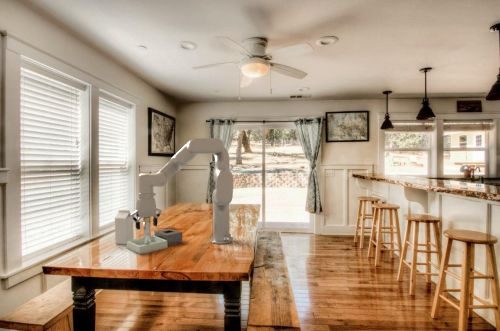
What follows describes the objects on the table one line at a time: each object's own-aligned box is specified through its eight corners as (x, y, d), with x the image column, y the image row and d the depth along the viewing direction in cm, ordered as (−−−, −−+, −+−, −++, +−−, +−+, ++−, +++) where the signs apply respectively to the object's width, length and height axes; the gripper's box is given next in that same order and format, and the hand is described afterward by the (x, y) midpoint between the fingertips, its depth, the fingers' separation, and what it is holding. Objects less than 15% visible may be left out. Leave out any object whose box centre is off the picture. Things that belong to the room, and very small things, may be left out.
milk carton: (126, 244, 162) (125, 211, 162) (115, 244, 163) (114, 211, 163) (133, 241, 169) (133, 209, 168) (123, 240, 170) (122, 209, 170)
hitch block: (182, 242, 165) (182, 232, 165) (166, 246, 158) (166, 235, 158) (169, 238, 175) (169, 228, 175) (154, 241, 168) (154, 231, 168)
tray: (167, 247, 155) (167, 240, 155) (139, 254, 144) (139, 247, 144) (153, 242, 166) (153, 235, 166) (126, 248, 155) (126, 241, 155)
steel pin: (151, 246, 155) (151, 217, 154) (145, 247, 152) (145, 218, 152) (148, 244, 158) (148, 216, 157) (142, 246, 155) (142, 217, 154)
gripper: (157, 194, 163) (158, 223, 164) (127, 197, 151) (128, 229, 151) (164, 195, 158) (164, 225, 158) (133, 198, 146) (134, 231, 146)
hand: (146, 227), depth 155 cm, fingers open, 9 cm apart
